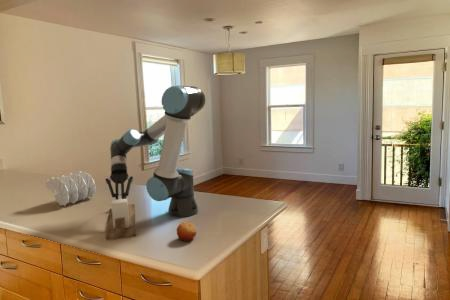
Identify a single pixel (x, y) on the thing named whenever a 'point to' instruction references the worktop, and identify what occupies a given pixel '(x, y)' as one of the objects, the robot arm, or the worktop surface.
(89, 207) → the worktop surface
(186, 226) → the fruit
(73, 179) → the spiral staircase
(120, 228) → the walnut board
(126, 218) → the sleeve
